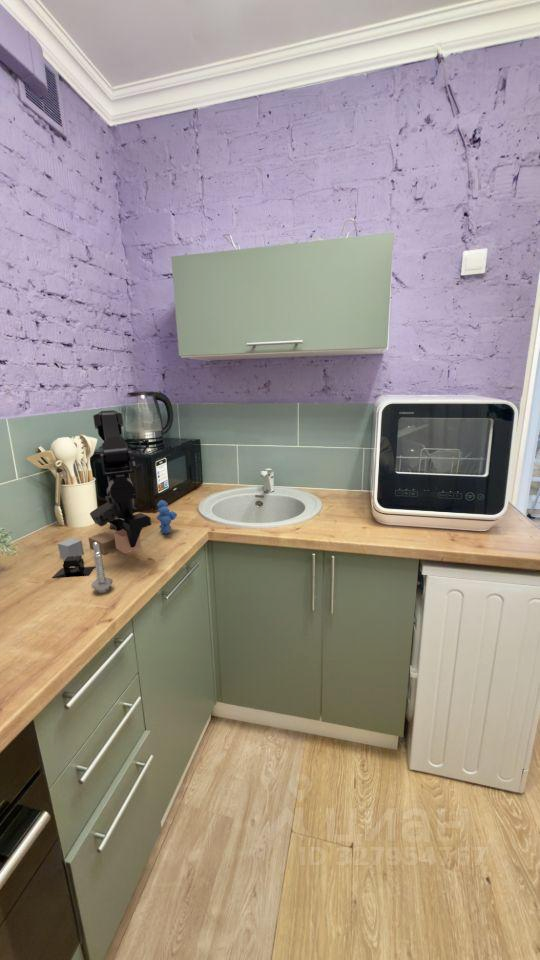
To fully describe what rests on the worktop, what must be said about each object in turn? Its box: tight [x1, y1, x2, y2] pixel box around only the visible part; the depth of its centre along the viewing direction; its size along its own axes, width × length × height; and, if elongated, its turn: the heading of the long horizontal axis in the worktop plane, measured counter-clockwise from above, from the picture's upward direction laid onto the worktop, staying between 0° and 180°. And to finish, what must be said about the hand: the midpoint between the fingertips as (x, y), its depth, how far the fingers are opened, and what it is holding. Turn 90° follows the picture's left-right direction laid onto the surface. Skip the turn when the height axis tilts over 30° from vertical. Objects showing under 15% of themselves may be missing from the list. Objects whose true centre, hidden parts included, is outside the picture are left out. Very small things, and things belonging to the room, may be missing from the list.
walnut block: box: [88, 528, 119, 556], centre depth 122 cm, size 8×8×4 cm
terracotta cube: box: [114, 530, 142, 554], centre depth 112 cm, size 5×5×5 cm
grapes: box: [156, 499, 178, 535], centre depth 130 cm, size 12×7×12 cm, turn 21°
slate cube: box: [57, 537, 84, 560], centre depth 117 cm, size 4×4×4 cm
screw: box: [91, 542, 114, 594], centre depth 96 cm, size 13×5×5 cm
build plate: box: [51, 555, 96, 579], centre depth 107 cm, size 12×7×5 cm, turn 94°
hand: (128, 544), depth 112 cm, fingers closed on terracotta cube, 5 cm apart
